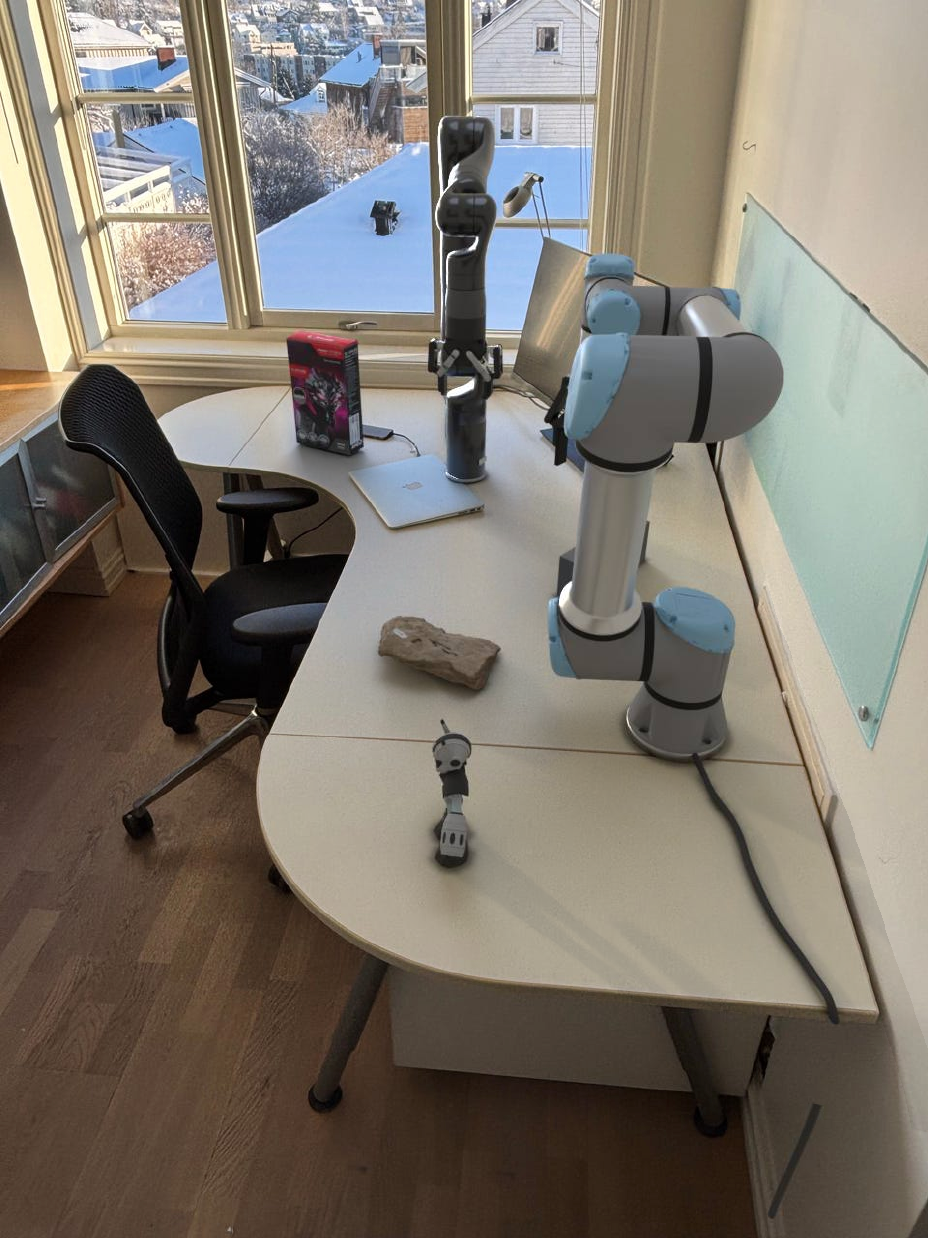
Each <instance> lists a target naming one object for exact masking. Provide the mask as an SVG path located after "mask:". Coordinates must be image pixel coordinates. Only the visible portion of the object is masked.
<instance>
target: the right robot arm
mask: <svg viewBox="0 0 928 1238" xmlns="http://www.w3.org/2000/svg"><path fill="white" fill-rule="evenodd" d="M583 280H584V286H583V301H582V315H581V316H582V317H581V318H582V319H581V320H582V321H581V327H580V335H579V336H580V337H579V346H578V347H577V348H578V349H577V351H576V354H575V357H574V360H573V363H572V366H571V367H572V368H571V371H570V374H567V375H566V376H563V377H562V378H561V383H560V389H559V391H558V392H557V394H556V396H555V397H554V399H553V401H552V403H551V405H550V407H549V408H548V411H547V413H546V414H545V415H544V418H543V421H544V423H545V424H549V425H550V426H551V428H552V443H551V444H552V446H554V459H553V461H554V462H553V466H555V467H558V466H560V465H563V464H565V463H567V459H568V447H569V446H568V445H569V439H570V440H572V441H574V447H575V449H576V452H577V454H578V455H579V456H580V458H582V460H583V461H584V467H583V477H582V487H581V494H580V495H581V497H580V504H579V515H578V522H577V523H578V524H577V531H576V541H575V547H576V550H575V559H574V568H573V577H572V581H571V582H570V583H568V584H567V585H566V586H565V587H564V589H563V590H562V592H561V595H560V597H558V596H556V597H555V598H554V597H553V598H551V599H550V600H549V601H548V605H547V631H548V648H549V658H550V666H551V670H552V671H553V673H554V674H555V675H557V676H559V677H562V678H568V679H569V678H570V679H576V680H580V681H581V680H596V681H597V680H598V681H599V680H600V681H623V682H642V684H641V685H640V688H639V689H638V691H637V692H636V694H635V695H634V697H633V699H632V701H631V702H630V704H629V706H628V708H627V711H626V719H625V728H626V732H627V734H628V736H629V738H630V739H631V741H632V742H634V744H636V745H637V746H638V747H639V748H640V749H641V750H643V751H645V752H646V753H648V754H650V755H651V756H654V757H656V758H659V759H662V760H666V761H670V762H675V763H694V765H695V767H696V769H697V771H698V774H699V776H700V779H701V780H702V783H703V785H704V787H705V789H706V791H707V793H708V794H709V796H710V797H711V799H712V800H713V802H714V803H715V804H716V806H717V807H718V808H719V810H720V811H721V813H722V814H723V815H724V816H725V818H726V819H727V821H728V823H729V824H730V826H731V828H732V830H733V833H734V834H735V837H736V841H737V842H738V846H739V849H740V853H741V854H740V855H741V856H742V857H741V858H742V859H743V860H742V861H743V863H744V867H745V869H746V871H747V874H748V876H749V879H750V881H751V883H752V886H753V888H754V890H755V893H756V895H757V897H758V899H759V902H760V903H761V906H762V908H763V909H764V911H765V913H766V915H767V917H768V919H769V920H770V922H771V924H772V925H773V927H774V929H775V930H776V931H777V933H778V935H779V936H780V937H781V939H782V940H783V941H784V943H785V944H786V945H787V947H788V948H789V950H790V951H791V952H792V954H793V955H794V956H795V958H796V959H797V961H798V962H799V964H800V965H801V966H802V968H803V969H804V971H805V972H806V973H807V975H808V977H809V978H810V980H811V981H812V983H813V984H814V986H815V987H816V988H817V989H818V991H819V993H820V994H821V997H822V998H823V1000H824V1002H825V1005H826V1009H827V1012H828V1016H829V1020H830V1022H831V1023H832V1024H833V1025H837V1026H838V1025H839V1024H840V1018H839V1012H838V1008H837V1005H836V1002H835V999H834V997H833V995H832V992H831V991H830V989H829V988H828V986H827V984H826V983H825V982H824V981H823V979H822V978H821V977H820V975H819V974H818V973H817V971H816V969H815V968H814V967H813V965H812V963H811V962H810V960H809V959H808V957H807V956H806V955H805V954H804V951H802V949H801V948H800V946H799V945H798V944H797V943H796V941H795V940H794V939H793V937H792V936H791V935H790V934H789V932H788V931H787V929H786V928H785V926H784V925H783V923H782V922H781V920H780V919H779V917H778V915H777V913H776V911H775V909H774V908H773V906H772V904H771V902H770V901H769V898H768V896H767V894H766V892H765V890H764V888H763V885H762V883H761V881H760V878H759V876H758V873H757V872H756V869H755V866H754V863H753V861H752V858H751V854H750V851H749V848H748V844H747V841H746V838H745V835H744V832H743V830H742V828H741V826H740V825H739V822H738V820H737V819H736V817H735V816H734V814H733V812H731V810H730V809H729V807H728V806H727V805H726V804H725V802H724V801H723V799H722V798H721V797H720V796H719V794H718V793H717V791H716V790H715V788H714V786H713V784H712V782H711V780H710V778H709V775H708V773H707V770H706V767H704V764H703V762H702V761H703V760H706V759H709V758H711V757H714V755H716V754H718V752H720V751H721V750H722V748H723V747H724V744H725V743H726V740H727V739H726V738H727V734H728V721H727V716H726V712H725V708H724V707H725V706H724V701H723V692H724V686H725V682H726V678H727V672H728V668H729V664H730V659H731V654H732V651H733V649H734V646H735V632H736V620H735V617H734V614H733V612H732V611H731V609H730V608H729V607H728V606H727V605H726V604H725V603H724V602H723V601H722V600H720V599H718V598H717V597H715V596H714V595H712V594H710V593H708V592H705V591H702V590H699V589H696V588H691V587H687V586H685V587H684V586H674V587H673V586H672V587H669V588H667V589H664V590H662V591H660V592H659V593H658V594H657V596H656V597H655V598H654V600H653V601H652V602H651V601H642V599H641V596H640V595H639V593H638V592H637V590H636V589H635V588H636V582H637V577H638V571H639V566H640V563H639V561H640V555H641V549H642V544H643V538H644V533H645V527H646V521H648V516H649V509H650V504H651V499H652V493H653V487H654V482H655V476H656V470H657V469H660V468H661V467H663V466H664V465H666V463H667V462H669V460H670V459H671V457H672V454H673V451H674V446H675V443H679V444H714V443H720V442H724V441H728V440H731V439H733V438H737V437H739V436H741V435H743V434H745V433H747V432H748V431H750V430H752V429H753V428H755V427H756V426H757V425H759V424H760V423H761V422H762V421H763V420H764V419H765V418H766V417H767V416H768V415H769V414H770V412H771V411H772V410H773V409H774V407H775V406H776V405H777V403H778V401H779V398H780V396H781V394H782V391H783V387H784V380H785V379H784V378H785V377H784V367H783V362H782V360H781V359H782V358H781V357H780V355H779V354H778V352H777V351H776V349H775V348H774V347H773V346H772V344H771V343H770V342H769V341H768V340H767V339H766V338H764V337H762V335H761V336H760V335H759V334H757V333H754V332H751V331H748V330H747V329H746V328H745V327H744V325H743V324H742V323H741V322H740V319H741V309H742V308H741V307H742V305H741V300H740V299H741V297H740V294H739V292H738V291H737V290H736V289H733V288H723V287H719V286H711V287H697V286H695V287H694V286H692V287H691V286H687V287H686V286H658V285H657V286H656V285H634V280H635V261H634V260H633V258H631V257H630V256H628V255H625V254H621V253H598V254H593V255H592V256H590V257H589V258H588V259H587V261H586V265H585V273H584V277H583ZM563 409H564V412H562V411H563ZM561 413H562V414H561ZM822 1107H823V1105H821V1104H817V1103H814V1102H812V1104H811V1107H810V1110H809V1113H808V1115H807V1119H806V1120H805V1123H804V1127H803V1128H802V1131H801V1133H800V1136H799V1138H798V1140H797V1143H796V1145H795V1147H794V1150H793V1152H792V1154H791V1157H790V1158H789V1160H788V1163H787V1165H786V1168H785V1170H784V1172H783V1174H782V1177H781V1178H780V1181H779V1184H778V1185H777V1188H776V1190H775V1193H774V1195H773V1198H772V1201H771V1204H770V1206H769V1208H768V1212H767V1216H768V1218H769V1219H771V1220H774V1219H776V1217H777V1213H778V1211H779V1208H780V1206H781V1204H782V1201H783V1199H784V1196H785V1193H786V1191H787V1189H788V1186H789V1184H790V1182H791V1180H792V1178H793V1175H794V1173H795V1171H796V1169H797V1167H798V1165H799V1162H800V1161H801V1158H802V1156H803V1154H804V1151H805V1150H806V1147H807V1144H808V1142H809V1140H810V1138H811V1136H812V1133H813V1130H814V1128H815V1125H816V1123H817V1120H818V1118H819V1115H820V1112H821V1109H822Z"/></svg>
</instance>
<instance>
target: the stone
mask: <svg viewBox="0 0 928 1238" xmlns="http://www.w3.org/2000/svg"><path fill="white" fill-rule="evenodd" d="M381 626H382V627H381V630H380V639H379V645H378V648H377V653H378V656H380V657H391V658H394V659H395V660H397V662H398V663H399V664H400V665H403V666H407V667H408V666H409V667H411V668H412V669H415V670H419V671H425V672H426V673H429V674H431V675H435V676H436V677H439V678H441V679H444V680H446V681H448V682H450V683H456V684H463V685H466V686H467V687H468V688H470V689H472V690H475V691H480V690H482V689H483V688H484V686H485V685H486V682H487V681H488V678H489V677H490V676H489V675H490V674H489V672H490V670H491V668H492V666H493V664H494V662H495V660H496V658H497V656H498V653H500V651H501V650H502V648H501V647H500V646H499V645H498V644H496V643H495V642H492V641H491V640H490V639H485V638H481V637H473V636H466V635H463V634H461V633H452V632H446V631H445V629H443V628H442V627H436V626H434V624H433V623H431V622H429V621H427V620H426V619H425V618H424V617H416V616H402V615H398V616H395V617H392V618H391V619H389V620H387V621H385V622H384V623H383V625H381Z"/></svg>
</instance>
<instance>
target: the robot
mask: <svg viewBox="0 0 928 1238" xmlns="http://www.w3.org/2000/svg"><path fill="white" fill-rule="evenodd" d="M439 722H440V725H441V727H442V730H443V733H444V734H442V735H441V736H439V737H438V738H437V739H436V740H435V741H434V742H433V745H432V747H431V752H432V757H433V758H434V761H435V771H436V772H437V773H439V774H438V776H439V779H440V781H441V783H442V785H441V792H442V794H441V795H442V799H443V801H444V802H445V805H446V807H445V808H444V812H443V813H442V816H441V819H440V820H439V821H438V823H437V824H435V826H434V828H433V833H434V834H435V836H436V838H437V839H438V840H439V841H440V842H439V845H438V848H437V849H436V852H435V855H434V859H435V860H436V861H437V862H438V863H439V865H441V866H443V867H447V868H453V867H457V866H459V865H461V864H463V863H466V862H467V859H468V856H469V854H470V853H469V844H468V840H467V837H468V823H467V818H466V815H464V813H463V810H462V806H463V804H464V798H463V797H469V795H470V794H469V793H470V788H469V787H470V786H469V779H468V776H467V774H466V766H467V765H468V762H467V760H468V759H469V758H470V757H471V755H472V749H473V748H472V743H471V741H470V739H468V738H467V736H465V735H464V734H462V733H460V732H457V731H450V729H449V727H448V725H447V723H446V722H445V720H444V719H443V718H441V719H440V720H439Z"/></svg>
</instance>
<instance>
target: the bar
mask: <svg viewBox="0 0 928 1238" xmlns="http://www.w3.org/2000/svg"><path fill="white" fill-rule="evenodd" d="M650 523H651V522H650V521H649V520H647V521H646V527H645V533H644V538H643V544H642V549H641V555H640V561H639V564H641V563H642V562H644V561H645V560H646V554H647V545H648V538H649V531H650ZM575 550H576V546H574V547H572V548H571V549H569V550H567V551H565V552H564V553H563V554H561V555H559V557H558V572H557V584H556V597H560V595H561V592H562V590H563V589H564V587H565V586H566V585H567V584H568V583H570V582H571V581H572V577H573V568H574V559H575Z"/></svg>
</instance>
